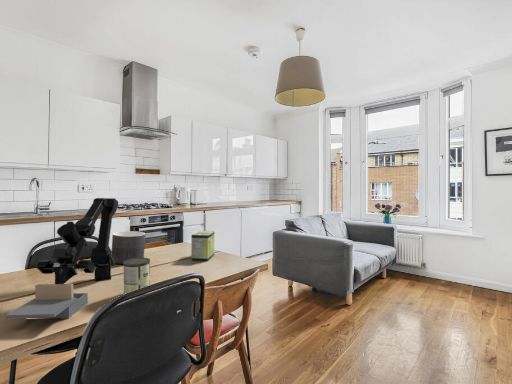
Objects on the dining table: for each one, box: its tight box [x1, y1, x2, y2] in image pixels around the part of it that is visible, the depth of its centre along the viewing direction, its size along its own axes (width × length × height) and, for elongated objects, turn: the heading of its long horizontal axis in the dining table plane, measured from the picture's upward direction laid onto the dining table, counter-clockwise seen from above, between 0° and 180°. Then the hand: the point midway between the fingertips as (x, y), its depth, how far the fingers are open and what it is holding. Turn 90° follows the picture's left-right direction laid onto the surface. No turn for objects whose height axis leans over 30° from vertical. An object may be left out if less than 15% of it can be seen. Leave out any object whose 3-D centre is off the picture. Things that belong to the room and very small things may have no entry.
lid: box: [4, 283, 77, 319], centre depth 92 cm, size 12×14×6 cm
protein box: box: [190, 230, 215, 262], centre depth 173 cm, size 10×16×16 cm
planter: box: [111, 230, 146, 265], centre depth 164 cm, size 18×18×16 cm
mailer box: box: [41, 292, 89, 319], centre depth 100 cm, size 12×14×4 cm
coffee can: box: [122, 257, 151, 295], centre depth 115 cm, size 10×10×14 cm
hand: (56, 288), depth 98 cm, fingers closed, pressing on lid
